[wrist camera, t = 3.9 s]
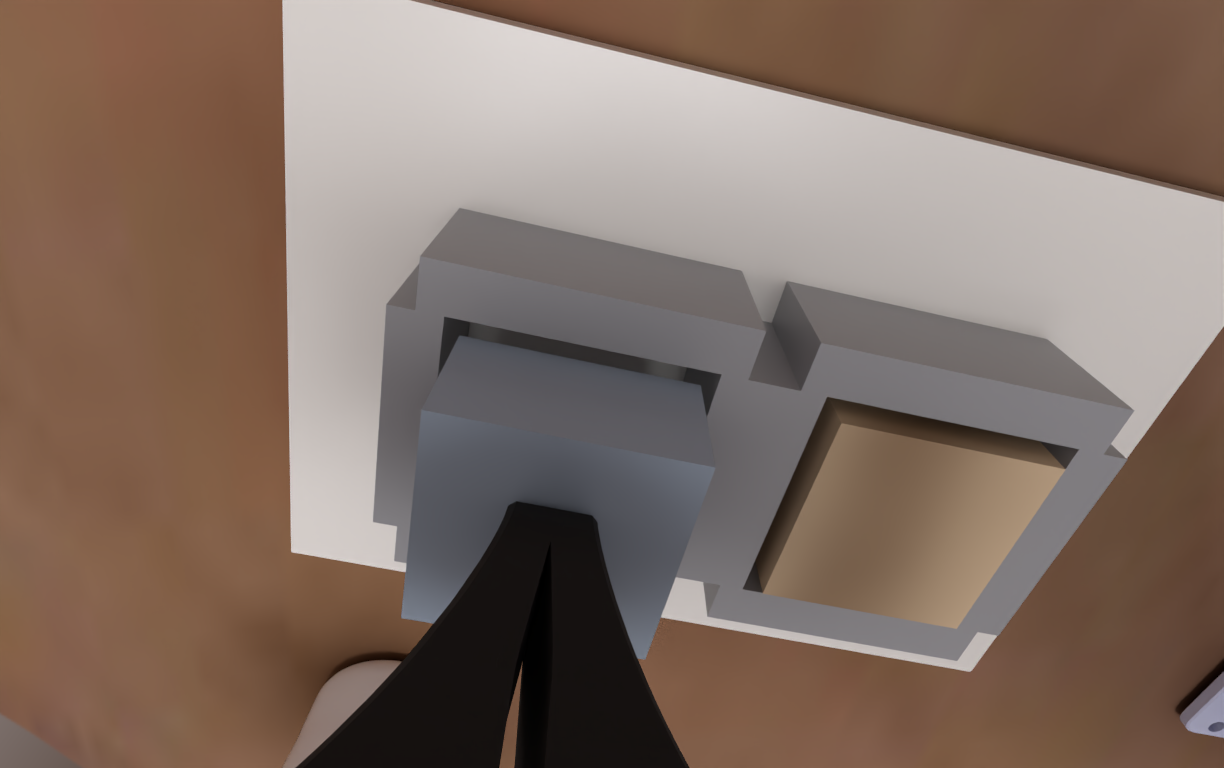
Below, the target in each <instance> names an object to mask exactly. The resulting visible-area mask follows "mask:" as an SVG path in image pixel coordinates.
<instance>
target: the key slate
mask: <svg viewBox="0 0 1224 768" xmlns="http://www.w3.org/2000/svg"><path fill="white" fill-rule="evenodd" d="M715 468H716V467H715V462H714V456H713V450H712V445H711V439H710V434H709V428H708V423H707V417H706V411H705V406H704V400H703V395H702V389H701V385H697V384H692V383H687V382H682V381H677V380H673V379H668V378H663V377H658V376H653V375H649V374H644V373H639V372H634V371H629V370H624V369H620V368H615V367H610V366H605V365H600V364H595V363H591V362H586V361H581V360H576V359H571V358H567V357H562V356H557V355H552V354H547V353H542V352H538V351H533V350H528V349H523V348H518V347H513V346H509V345H504V344H499V343H494V342H489V341H484V340H480V339H475V338H470V337H465V336H460V335H459V337H458V339H457V341H456V343H455V345H454V347H453V349H452V351H451V353H450V355H449V357H448V359H447V361H446V363H445V365H444V367H443V369H442V371H441V372H440V374H439V376H438V378H437V380H436V382H435V384H434V386H433V388H432V390H431V392H430V394H429V396H428V398H427V400H426V402H425V404H424V406H423V408H422V410H421V419H420V430H419V440H418V450H417V460H416V471H415V481H414V491H413V501H412V512H411V522H410V532H409V543H408V553H407V563H406V573H405V584H404V594H403V604H402V614H401V618H404V619H410V620H416V621H422V622H428V623H435V621H436V620H437V619H438V617H439V616H440V615H441V614H442V612H443V611H444V610H445V609H446V607H447V606H448V605H449V604H450V602H451V601H452V600H453V598H454V597H455V596H456V594H457V593H458V591H459V590H460V588H461V587H462V586H463V584H464V583H465V581H466V580H467V578H468V577H469V575H470V574H471V573H472V571H473V570H474V568H475V567H476V565H477V564H478V562H479V561H480V559H481V558H482V556H483V554H484V553H485V551H486V549H487V548H488V546H489V545H490V543H491V541H492V539H493V538H494V536H495V534H496V532H497V530H498V528H499V526H500V524H501V522H502V520H503V518H504V516H505V513H506V510H507V507H508V505H510V504H512V503H514V502H516V501H518V502H524V503H529V504H534V505H540V506H545V507H550V508H556V509H561V510H566V511H572V512H577V513H582V514H588V515H592V516H593V517H594V518H595V520H596V521H597V522H598V530H599V536H600V541H601V546H602V551H603V555H604V559H605V563H606V567H607V571H608V574H609V578H610V581H611V585H612V588H613V591H614V595H615V598H616V601H617V604H618V607H619V610H620V613H621V615H622V618H623V621H624V624H625V627H626V630H627V633H628V636H629V638H630V641H631V643H632V646H633V649H634V651H635V654H636V656H637V658H639V659H646V656H647V653H648V650H649V648H650V645H651V642H652V639H653V637H654V634H655V631H656V629H657V626H658V623H659V620H660V618H661V615H662V612H663V610H664V607H665V604H666V601H667V599H668V596H669V593H670V590H671V588H672V585H673V582H674V580H675V577H676V574H677V571H678V569H679V566H680V563H681V561H682V558H683V555H684V552H685V550H686V547H687V544H688V542H689V539H690V536H691V533H692V531H693V528H694V525H695V522H696V520H697V517H698V514H699V512H700V509H701V506H702V503H703V501H704V498H705V495H706V493H707V490H708V487H709V484H710V482H711V479H712V476H713V473H714V471H715Z"/></svg>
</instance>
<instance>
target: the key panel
mask: <svg viewBox="0 0 1224 768" xmlns="http://www.w3.org/2000/svg"><path fill="white" fill-rule="evenodd" d="M283 63H284V125H285V188H286V250H287V313H288V376H289V438H290V501H291V552H294V553H300V554H305V555H311V556H317V557H322V558H328V559H334V560H339V561H345V562H351V563H356V564H362V565H368V566H373V567H379V568H385V569H390V570H396V571H402V572H406V563H407V553H408V543H409V532H410V522H411V512H412V501H413V491H414V481H415V471H416V460H417V450H418V440H419V430H420V419H421V410H422V408H423V406H424V404H425V402H426V400H427V398H428V396H429V394H430V392H431V390H432V388H433V386H434V384H435V382H436V380H437V378H438V376H439V374H440V372H441V371H442V369H443V367H444V365H445V363H446V361H447V359H448V357H449V355H450V353H451V351H452V349H453V347H454V345H455V343H456V341H457V339H458V337H459V335H460V336H465V337H470V338H475V339H480V340H484V341H489V342H494V343H499V344H504V345H509V346H513V347H518V348H523V349H528V350H533V351H538V352H542V353H547V354H552V355H557V356H562V357H567V358H571V359H576V360H581V361H586V362H591V363H595V364H600V365H605V366H610V367H615V368H620V369H624V370H629V371H634V372H639V373H644V374H649V375H653V376H658V377H663V378H668V379H673V380H677V381H682V382H687V383H692V384H697V385H701V389H702V395H703V400H704V406H705V411H706V417H707V423H708V428H709V434H710V439H711V445H712V450H713V456H714V462H715V467H716V468H715V471H714V473H713V476H712V479H711V482H710V484H709V487H708V490H707V493H706V495H705V498H704V501H703V503H702V506H701V509H700V512H699V514H698V517H697V520H696V522H695V525H694V528H693V531H692V533H691V536H690V539H689V542H688V544H687V547H686V550H685V552H684V555H683V558H682V561H681V563H680V566H679V569H678V571H677V574H676V577H675V580H674V582H673V585H672V588H671V590H670V593H669V596H668V599H667V601H666V604H665V607H664V610H663V612H662V615H661V617H662V618H668V619H674V620H679V621H685V622H691V623H696V624H702V625H708V626H713V627H719V628H725V629H730V630H736V631H742V632H747V633H753V634H759V635H764V636H770V637H776V638H781V639H787V640H793V641H798V642H804V643H810V644H815V645H821V646H827V647H832V648H838V649H844V650H849V651H855V652H861V653H866V654H872V655H878V656H883V657H889V658H895V659H900V660H906V661H912V662H917V663H923V664H929V665H934V666H940V667H946V668H951V669H957V670H963V671H968V672H971V671H972V669H973V668H974V667H975V665H976V664H977V663H978V661H979V660H980V659H981V657H982V656H983V654H984V653H985V652H986V650H987V649H988V648H989V646H990V645H991V643H992V642H993V641H994V639H995V638H996V637H997V636H999V634H1000V633H1001V632H1002V630H1003V629H1004V627H1005V626H1006V625H1007V623H1008V622H1009V621H1010V619H1011V618H1012V616H1013V615H1014V614H1015V612H1016V611H1017V610H1018V608H1019V607H1020V606H1021V604H1022V603H1023V601H1024V600H1025V599H1026V597H1027V596H1028V595H1029V593H1030V592H1031V591H1032V589H1033V588H1034V586H1035V585H1036V584H1037V582H1038V581H1039V580H1040V578H1041V577H1042V576H1043V574H1044V573H1045V571H1046V570H1047V569H1048V567H1049V566H1050V565H1051V563H1052V562H1053V561H1054V559H1055V558H1056V556H1057V555H1058V554H1059V552H1060V551H1061V550H1062V548H1063V547H1064V546H1065V544H1066V543H1067V541H1068V540H1069V539H1070V537H1071V536H1072V535H1073V533H1074V532H1075V531H1076V529H1077V528H1078V526H1079V525H1080V524H1081V522H1082V521H1083V520H1084V518H1085V517H1086V516H1087V514H1088V513H1089V511H1090V510H1091V509H1092V507H1093V506H1094V505H1095V503H1096V502H1097V501H1098V499H1099V498H1100V496H1101V495H1102V494H1103V492H1104V491H1105V490H1106V488H1107V487H1108V486H1109V484H1110V483H1111V481H1112V480H1113V479H1114V477H1115V476H1116V475H1117V473H1118V472H1119V471H1120V469H1121V468H1122V466H1123V465H1124V464H1125V462H1126V461H1127V460H1128V459H1127V458H1128V456H1129V455H1130V454H1131V452H1132V451H1133V449H1134V448H1135V447H1136V445H1137V444H1138V443H1139V441H1140V440H1141V438H1142V437H1143V436H1144V434H1145V433H1146V432H1147V430H1148V429H1149V428H1150V426H1151V425H1152V423H1153V422H1154V421H1155V419H1156V418H1157V417H1158V415H1159V414H1160V413H1161V411H1162V410H1163V408H1164V407H1165V406H1166V404H1167V403H1168V402H1169V400H1170V399H1171V397H1172V396H1173V395H1174V393H1175V392H1176V391H1177V389H1178V388H1179V387H1180V385H1181V384H1182V382H1183V381H1184V380H1185V378H1186V377H1187V376H1188V374H1189V373H1190V372H1191V370H1192V369H1193V367H1194V366H1195V365H1196V363H1197V362H1198V361H1199V359H1200V358H1201V356H1202V355H1203V354H1204V352H1205V351H1206V350H1207V348H1208V347H1209V346H1210V344H1211V343H1212V341H1213V340H1214V339H1215V337H1216V336H1217V335H1218V333H1219V332H1220V331H1221V329H1222V328H1223V326H1224V197H1222V196H1218V195H1214V194H1210V193H1206V192H1202V191H1198V190H1194V189H1190V188H1186V187H1182V186H1178V185H1174V184H1170V183H1166V182H1162V181H1158V180H1153V179H1149V178H1145V177H1141V176H1137V175H1133V174H1129V173H1125V172H1121V171H1117V170H1113V169H1109V168H1105V167H1101V166H1097V165H1093V164H1089V163H1085V162H1081V161H1077V160H1073V159H1069V158H1065V157H1061V156H1057V155H1053V154H1049V153H1045V152H1041V151H1037V150H1033V149H1029V148H1025V147H1021V146H1017V145H1013V144H1009V143H1005V142H1000V141H996V140H992V139H988V138H984V137H980V136H976V135H972V134H968V133H964V132H960V131H956V130H952V129H948V128H944V127H940V126H936V125H932V124H928V123H924V122H920V121H916V120H912V119H908V118H904V117H900V116H896V115H892V114H888V113H884V112H880V111H876V110H872V109H868V108H864V107H860V106H856V105H851V104H847V103H843V102H839V101H835V100H831V99H827V98H823V97H819V96H815V95H811V94H807V93H803V92H799V91H795V90H791V89H787V88H783V87H779V86H775V85H771V84H767V83H763V82H759V81H755V80H751V79H747V78H743V77H739V76H735V75H731V74H727V73H723V72H719V71H715V70H711V69H707V68H703V67H698V66H694V65H690V64H686V63H682V62H678V61H674V60H670V59H666V58H662V57H658V56H654V55H650V54H646V53H642V52H638V51H634V50H630V49H626V48H622V47H618V46H614V45H610V44H606V43H602V42H598V41H594V40H590V39H586V38H582V37H578V36H574V35H570V34H566V33H562V32H558V31H554V30H549V29H545V28H541V27H537V26H533V25H529V24H525V23H521V22H517V21H513V20H509V19H505V18H501V17H497V16H493V15H489V14H485V13H481V12H477V11H473V10H469V9H465V8H461V7H457V6H453V5H449V4H445V3H441V2H437V1H433V0H283ZM827 397H831V398H836V399H841V400H846V401H850V402H855V403H860V404H865V405H870V406H874V407H879V408H884V409H889V410H893V411H898V412H903V413H908V414H913V415H917V416H922V417H927V418H932V419H936V420H941V421H946V422H951V423H956V424H960V425H965V426H970V427H975V428H979V429H984V430H989V431H994V432H999V433H1003V434H1008V435H1013V436H1018V437H1022V438H1027V439H1032V440H1037V441H1040V442H1041V443H1042V444H1043V445H1044V446H1045V448H1046V449H1047V450H1048V451H1049V452H1050V453H1051V454H1052V455H1053V456H1054V457H1055V458H1056V459H1057V461H1058V462H1059V463H1060V464H1061V465H1062V466H1063V467H1064V468H1065V469H1066V470H1065V471H1064V473H1063V474H1062V476H1061V477H1060V479H1059V480H1058V481H1057V483H1056V484H1055V486H1054V487H1053V489H1052V490H1051V492H1050V493H1049V495H1048V496H1047V498H1046V499H1045V500H1044V502H1043V503H1042V505H1041V506H1040V508H1039V509H1038V511H1037V512H1036V514H1035V515H1034V517H1033V518H1032V520H1031V521H1030V522H1029V524H1028V525H1027V527H1026V528H1025V530H1024V531H1023V533H1022V534H1021V536H1020V537H1019V539H1018V540H1017V541H1016V543H1015V544H1014V546H1013V547H1012V549H1011V550H1010V552H1009V553H1008V555H1007V556H1006V558H1005V559H1004V560H1003V562H1002V563H1001V565H1000V566H999V568H998V569H997V571H996V572H995V574H994V575H993V577H992V578H991V579H990V581H989V582H988V584H987V585H986V587H985V588H984V590H983V591H982V593H981V594H980V596H979V597H978V598H977V600H976V601H975V603H974V604H973V606H972V607H971V609H970V610H969V612H968V613H967V615H966V616H965V617H964V619H963V620H962V622H961V623H960V625H959V626H958V628H957V629H954V628H949V627H943V626H938V625H932V624H927V623H921V622H916V621H910V620H905V619H899V618H894V617H888V616H883V615H877V614H872V613H866V612H861V611H855V610H850V609H844V608H839V607H833V606H828V605H822V604H817V603H811V602H806V601H800V600H795V599H789V598H784V597H778V596H773V595H767V594H763V593H762V588H761V584H760V579H759V574H758V570H757V565H756V561H755V560H756V558H757V555H758V553H759V551H760V548H761V546H762V544H763V542H764V539H765V537H766V535H767V533H768V530H769V528H770V526H771V523H772V521H773V519H774V517H775V514H776V512H777V510H778V508H779V505H780V503H781V501H782V498H783V496H784V494H785V492H786V489H787V487H788V485H789V483H790V480H791V478H792V476H793V473H794V471H795V469H796V467H797V464H798V462H799V460H800V457H801V455H802V453H803V451H804V448H805V446H806V444H807V442H808V439H809V437H810V435H811V432H812V430H813V428H814V426H815V423H816V421H817V419H818V417H819V414H820V412H821V410H822V407H823V405H824V403H825V401H826V398H827Z"/></svg>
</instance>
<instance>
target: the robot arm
mask: <svg viewBox="0 0 1224 768" xmlns="http://www.w3.org/2000/svg"><path fill="white" fill-rule="evenodd" d="M522 661H523V664H522ZM521 665H522V676H521V689H520V702H519V715H518V728H517V742H516V755H515V768H689V766H688V764H687V762H686V761H685V759H684V757H683V755H682V753H681V751H680V750H679V748H678V746H677V744H676V742H675V740H674V738H673V736H672V734H671V732H670V730H669V728H668V726H667V724H666V722H665V720H664V718H663V716H662V714H661V711H660V709H659V707H658V705H657V703H656V701H655V699H654V696H653V694H652V692H651V690H650V687H649V685H648V683H647V680H646V678H645V676H644V673H643V671H642V668H641V666H640V664H639V661H638V659H637V656H636V654H635V651H634V649H633V646H632V643H631V641H630V638H629V636H628V633H627V630H626V627H625V624H624V621H623V618H622V615H621V613H620V610H619V607H618V604H617V601H616V598H615V595H614V591H613V588H612V585H611V581H610V578H609V574H608V571H607V567H606V563H605V559H604V555H603V551H602V546H601V541H600V536H599V530H598V522H597V521H596V520H595V518H594V517H593V516H592V515H588V514H582V513H577V512H572V511H566V510H561V509H556V508H550V507H545V506H540V505H534V504H529V503H524V502H518V501H516V502H514V503H512V504H510V505H508V507H507V510H506V513H505V516H504V518H503V520H502V522H501V524H500V526H499V528H498V530H497V532H496V534H495V536H494V538H493V539H492V541H491V543H490V545H489V546H488V548H487V549H486V551H485V553H484V554H483V556H482V558H481V559H480V561H479V562H478V564H477V565H476V567H475V568H474V570H473V571H472V573H471V574H470V575H469V577H468V578H467V580H466V581H465V583H464V584H463V586H462V587H461V588H460V590H459V591H458V593H457V594H456V596H455V597H454V598H453V600H452V601H451V602H450V604H449V605H448V606H447V607H446V609H445V610H444V611H443V612H442V614H441V615H440V616H439V617H438V619H437V620H436V621H435V623H434V624H433V625H432V626H431V628H430V629H429V630H428V631H427V633H426V634H425V635H424V636H423V638H422V639H421V640H420V641H419V642H418V644H417V645H416V646H415V647H414V648H413V650H412V651H411V652H410V653H409V654H408V655H407V656H406V658H405V659H404V660H403V661H402V662H401V663H400V664H399V666H398V667H397V668H396V669H395V670H394V671H393V672H392V673H391V674H390V675H389V676H388V678H387V679H386V680H385V681H384V682H383V683H382V684H381V685H380V686H379V687H378V688H377V689H376V690H375V691H374V693H373V694H372V695H371V696H370V697H369V698H368V699H367V700H366V701H365V702H364V703H363V704H362V705H361V706H360V707H359V708H358V709H357V710H356V711H355V712H354V713H353V714H352V715H351V716H350V717H349V718H348V719H347V720H346V721H345V722H344V723H343V724H342V725H341V726H340V727H339V728H338V729H337V730H336V731H335V732H333V733H332V734H331V735H330V736H329V737H328V738H327V739H326V740H325V741H324V742H323V743H322V744H321V745H320V746H319V747H318V748H317V749H316V750H314V751H313V752H312V753H311V754H310V755H309V756H308V757H307V758H306V759H305V760H304V761H302V762H301V763H300V764H299V765H298V766H297V767H295V768H499V765H500V759H501V753H502V746H503V740H504V734H505V727H506V721H507V717H508V714H509V710H510V706H511V702H512V699H513V695H514V691H515V687H516V684H517V680H518V676H519V672H520V669H521ZM1180 720H1181V722H1182V723H1183V724H1184V726H1185V727H1186V728H1187V729H1188V731H1191V732H1194V733H1200V734H1206V735H1211V736H1217V737H1223V738H1224V671H1223V672H1222V673H1221V674H1220V675H1219V676H1218V677H1217V678H1216V679H1215V680H1214V681H1213V682H1212V683H1211V684H1210V685H1209V686H1208V687H1207V688H1206V689H1205V690H1204V691H1203V692H1202V693H1201V694H1200V695H1199V696H1198V697H1197V698H1196V699H1195V700H1194V701H1193V702H1192V703H1191V704H1190V705H1189V706H1188V707H1187V708H1186V709H1185V710H1184V711H1183V712H1182V713H1181V715H1180Z"/></svg>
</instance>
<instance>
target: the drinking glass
mask: <svg viewBox="0 0 1224 768" xmlns="http://www.w3.org/2000/svg"><path fill="white" fill-rule="evenodd" d="M401 662H402V661H395V660H373V661H366V662H361V663H357V664H354V665H351V666H349V667H347V668H345V669H343V670H341V671H339V672H338V673H336V674H335V675H334V676H332V677H331V678H330V679H329V680H328V681H327V682H326V683H325V684H324V686H323V687H322V688H321V690H320V691H319V693H318V695H317V697H316V699H315V701H314V703H313V705H312V707H311V709H310V711H309V714H308V716H307V718H306V720H305V722H304V725H303V727H302V729H301V731H300V733H299V736H298V738H297V740H296V742H295V744H294V746H293V747H292V749H291V751H290V753H289V755H288V757H287V759H286V760H285V762H284V764H283V766H282V768H295V767H297V766H298V765H299V764H300V763H301V762H302V761H304V760H305V759H306V758H307V757H308V756H309V755H310V754H311V753H312V752H313V751H314V750H316V749H317V748H318V747H319V746H320V745H321V744H322V743H323V742H324V741H325V740H326V739H327V738H328V737H329V736H330V735H331V734H332V733H333V732H335V731H336V730H337V729H338V728H339V727H340V726H341V725H342V724H343V723H344V722H345V721H346V720H347V719H348V718H349V717H350V716H351V715H352V714H353V713H354V712H355V711H356V710H357V709H358V708H359V707H360V706H361V705H362V704H363V703H364V702H365V701H366V700H367V699H368V698H369V697H370V696H371V695H372V694H373V693H374V691H375V690H376V689H377V688H378V687H379V686H380V685H381V684H382V683H383V682H384V681H385V680H386V679H387V678H388V676H389V675H390V674H391V673H392V672H393V671H394V670H395V669H396V668H397V667H398V666H399V664H400V663H401Z"/></svg>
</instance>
